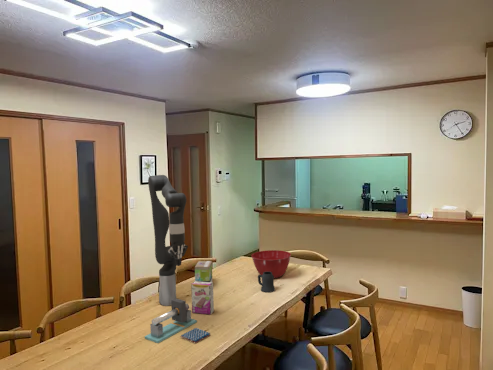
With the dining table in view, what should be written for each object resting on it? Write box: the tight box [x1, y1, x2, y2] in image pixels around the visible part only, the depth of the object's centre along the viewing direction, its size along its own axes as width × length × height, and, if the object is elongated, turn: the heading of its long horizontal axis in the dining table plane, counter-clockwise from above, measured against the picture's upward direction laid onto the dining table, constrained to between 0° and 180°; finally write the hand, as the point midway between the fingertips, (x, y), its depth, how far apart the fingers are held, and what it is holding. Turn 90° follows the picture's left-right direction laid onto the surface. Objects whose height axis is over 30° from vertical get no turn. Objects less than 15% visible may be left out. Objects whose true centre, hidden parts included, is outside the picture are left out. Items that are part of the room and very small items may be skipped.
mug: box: [257, 271, 276, 294], centre depth 230 cm, size 12×9×11 cm
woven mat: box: [180, 327, 211, 345], centre depth 169 cm, size 10×11×2 cm
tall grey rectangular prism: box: [170, 297, 187, 323], centre depth 181 cm, size 3×7×10 cm, turn 55°
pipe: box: [149, 302, 192, 338], centre depth 177 cm, size 22×5×9 cm, turn 145°
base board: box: [144, 318, 198, 344], centre depth 177 cm, size 26×9×1 cm, turn 145°
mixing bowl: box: [250, 249, 292, 279], centre depth 259 cm, size 28×28×15 cm
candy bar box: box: [190, 280, 215, 316], centre depth 197 cm, size 11×5×16 cm, turn 74°
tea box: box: [194, 260, 213, 283], centre depth 243 cm, size 15×10×15 cm, turn 179°
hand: (178, 265), depth 186 cm, fingers closed
